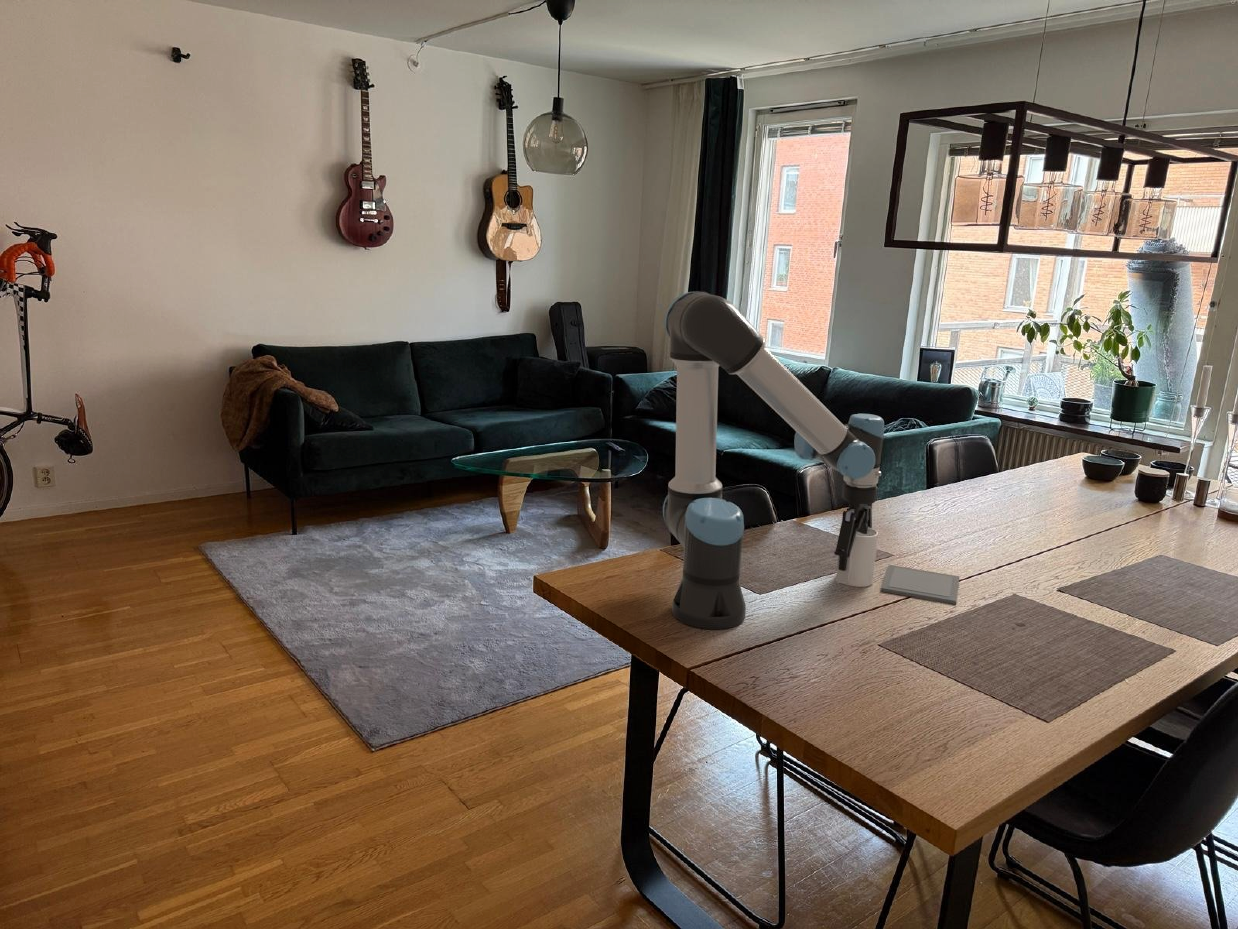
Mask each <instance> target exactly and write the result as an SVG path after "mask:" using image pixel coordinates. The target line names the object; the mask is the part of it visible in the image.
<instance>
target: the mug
mask: <svg viewBox="0 0 1238 929" xmlns="http://www.w3.org/2000/svg"><path fill="white" fill-rule="evenodd" d="M878 537H879V533H878V531H877V530H876V529H874V528H873V527H872V528H869V527H868V530H867V534H862V533H860V532H858V531H857V532H856V536H855V539H854V543H853V546H852V550H851V553H850V556H851V565H850V574H849V584H848V585H847V584H844V585H846V586H849V587H856V588H863V587H864V588H865V587H870V586H872V585H873V584H874V581H875V580H874V572H875V564H876V563H875V562H876V553H877V546H878ZM842 551H844V550H842Z"/></svg>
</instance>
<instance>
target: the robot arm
mask: <svg viewBox="0 0 1238 929" xmlns="http://www.w3.org/2000/svg"><path fill="white" fill-rule="evenodd" d="M665 312H666V313H665V315H664V316H665V317H664V325H665V330H666V333H667V335H668V337H669V359H670V361H672V362H673V364H674V365H675V367H676V406H675V407H676V412H675V415H676V416H675V417H676V419H675V421H676V422H675V472H674V473H675V476H674V477H673V478H672V479H671V480H670V481H669V482H668V486H667V487H668V488H667V490H668V491H667V495H666V497H665V498H664V502H663V505H662V515H663V519H664V522H665V525H666V528H667V529H668V531H669V532H670V534H672V535H673V536H674V537H675V539H676V540H677V541H678V542H679V543H680V545H681V546H682V548H683V559H682V560H683V564H682V577H681V580H680V582H679V584H678V586H677V588H676V592H675V595H674V597H673V600H672V605H671V606H672V607H671V612H672V616H674V618H675V619H676V620H678V621H679V622H680V623H683V624H685V625H687V626H690V627H694V628H699V629H706V630H723V629H731V628H733V627H737V626H738V625H741V624H742V623H743V622H744V620H745V619H746V613H747V612H746V609H747V607H746V602H745V598H744V595H743V591H742V586H741V583H740V578H741V577H740V576H741V575H740V574H741V573H740V572H741V562H742V550H743V539H744V538H743V537H744V533H745V524H744V514H743V512H742V510H741V509H740V507H739V506H737V505H736V504H734V503H733V502H731V501H726V500H725V499H723V484H722V482H721V481H720V480H719V479H718V478H717V477H716V474H717V472H716V468H717V467H716V466H717V465H716V464H717V461H716V460H717V433H718V399H719V398H718V394H719V392H718V391H719V367H721V369H723V370H725V372H726V373H728V374H729V375H737V376H738V377H739V378H740V379H741V380H742V381H743V382H744V383H745V384H746V385H747V386H748V387H749V388H750V389H752V391H754V392H755V394H757V395H758V397H760V398H761V399H762V400H763V402H765V403H766V404H767V405H768V406H769V407H770V408H771V409H772V410H774V411H775V413H777V414H778V416H780V418H782V419H783V420H784V421H785V422H786V423H787V424H788V425H789V426H790V427H791V428H792V429H793V430H794V431H795V434H794V441H793V442H794V451H795V454H796V456H797V457H798V458H800V459H801V460H809V461H814V460H817V461H820V462H822V463H823V464H825V465H827V466H829V467H831V468H832V469H834V470H835V471H837V472H839V473H840V474H841V475H842V476H843V481H844V483H843V484H842V493H841V497H842V500H844V501H845V502H848V507H847V508H846V510H843V511H842V516H841V518H842V519H841V524H840V529H839V534H838V538H837V543H836V547H835V550H834V555H835V556H837V566H836V574H835V583H838V584H839V583H840V584H842V585H845V584H847V585H846V586H849V585H848V584H849V574H850V565H851V556H850V553H851V550H852V546H853V543H854V539H855V536H856V532H857V531H858V532H860V533H862V534H867V530H868V527H869V528H872V529H873V511H872V510H873V509H872V508H873V504H874V503H876V501H877V496H878V489H879V488H878V486H877V484H879V477H881V476H882V472H881V471H880V467H881V458H882V451H883V442H884V439H885V435H884V434H885V421H884V419H883V418H882V417H881V416H879V415H876V414H871V413H857V414H856V413H855V414H851V415H850V417H849V420H848V423H846V424H845V423H844V424H843V423H842V422H841V421H840V420H839V419H838V418H837V417H836V416H835V415H834V414H833V413H832V412H831V411H830V410H829V409H828V408H827V407H826V406H825V405H824V404H823V403H822V402H821V401H820V399H818V398H817V396H815V395H814V394H813V393H812V392H811V391H810V390H809V389H808V388H807V387H806V386H805V385H804V384H803V383H802V382H801V380H799V379H798V378H797V377H796V376H795V375H794V374H793V373H792V372H791V371H790V370H789V369H788V368H787V367H786V366H785V365H784V364H783V363H782V362H781V361H780V360H779V359H778V358H777V357H776V356H775V355H774V354H773V353H772V352H771V351H770V350H769V349H768V348H767V347H766V346H765V343H766V339H765V337H764V335H763V336H762V334H761V333H760V332H759V331H758V330H757V329H756V328H755V327H754V325H752V323H751V322H750V321H749V320H748V319H747V318H746V317H745V316H744V315H743V314H742V312H740V310H739V309H738V307H737V306H736V305H734V304H733V303H732V302H730V301H729V300H728V299H726V298H724V297H722V296H719V295H715V294H711V293H708V292H707V291H699V290H696V291H688V292H684V293H683V294H680V295H678V296H677V297H676V298H674V300H673V301H672V302H671V303H670V305H669V306H668V307H667V310H666V311H665ZM842 550H844V551H842Z"/></svg>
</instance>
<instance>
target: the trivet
mask: <svg viewBox="0 0 1238 929" xmlns="http://www.w3.org/2000/svg"><path fill="white" fill-rule="evenodd" d="M959 582H960V576H959V575H953V574H948V573H941V572H935V571H929V570H923V569H917V568H912V567H907V566H899V565H893V564H888V566H887V569H886V572H885V575H884V578H883V581H882V584H881V586H880V592H884V593H890V594H895V595H901V596H905V597H912V598H918V599H922V600H923V599H924V600H928V601H934V602H942V603H946V604H950V605H951V604H952V605H956V604H957V599H958V592H959Z"/></svg>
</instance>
